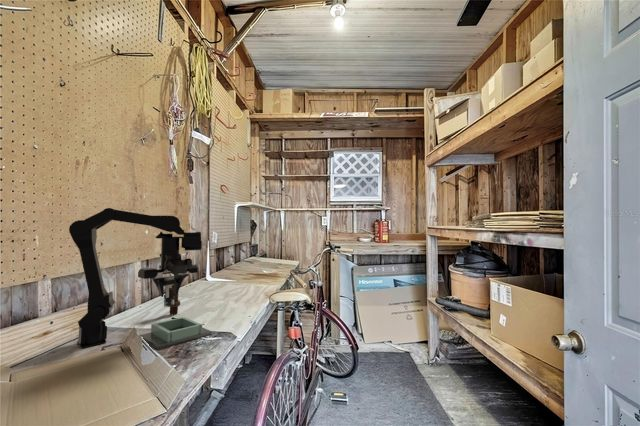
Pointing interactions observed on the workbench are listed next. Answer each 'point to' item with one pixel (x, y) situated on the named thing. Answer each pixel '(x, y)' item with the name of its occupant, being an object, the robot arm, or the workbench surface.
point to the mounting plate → (160, 343)
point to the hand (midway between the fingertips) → (169, 295)
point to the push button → (169, 290)
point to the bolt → (174, 306)
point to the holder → (189, 329)
